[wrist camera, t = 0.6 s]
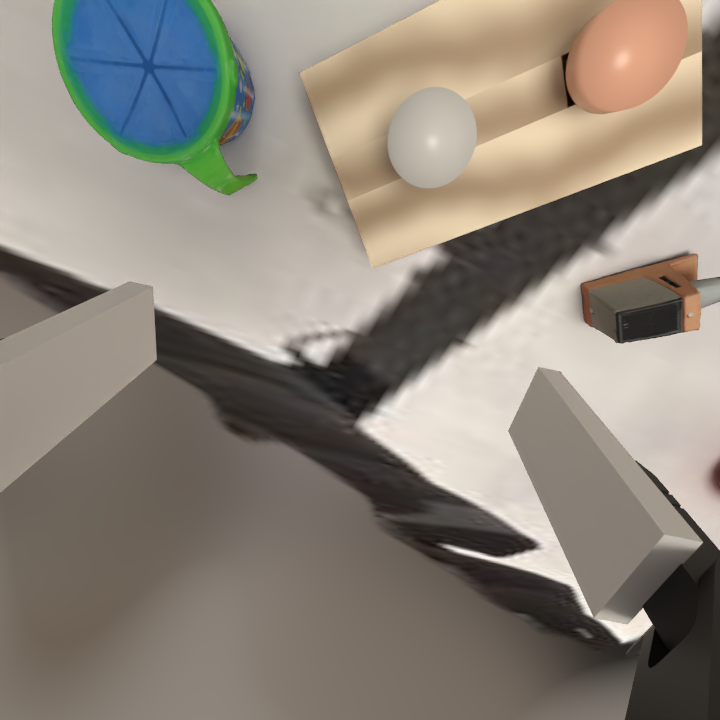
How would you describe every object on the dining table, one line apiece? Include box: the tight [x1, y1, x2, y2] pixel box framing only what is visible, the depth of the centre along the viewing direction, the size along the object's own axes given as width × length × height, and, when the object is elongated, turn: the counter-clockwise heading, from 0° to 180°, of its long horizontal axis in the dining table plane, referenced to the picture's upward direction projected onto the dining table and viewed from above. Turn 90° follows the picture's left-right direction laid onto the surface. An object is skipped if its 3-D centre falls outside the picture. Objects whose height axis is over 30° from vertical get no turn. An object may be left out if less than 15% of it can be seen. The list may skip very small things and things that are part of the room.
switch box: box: [299, 0, 702, 268], centre depth 29 cm, size 14×24×6 cm, turn 112°
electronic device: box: [581, 254, 720, 343], centre depth 34 cm, size 4×10×8 cm, turn 110°
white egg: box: [388, 87, 477, 188], centre depth 26 cm, size 5×5×6 cm
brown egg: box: [564, 0, 688, 114], centre depth 23 cm, size 5×5×6 cm
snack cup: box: [52, 0, 257, 195], centre depth 27 cm, size 16×10×10 cm
